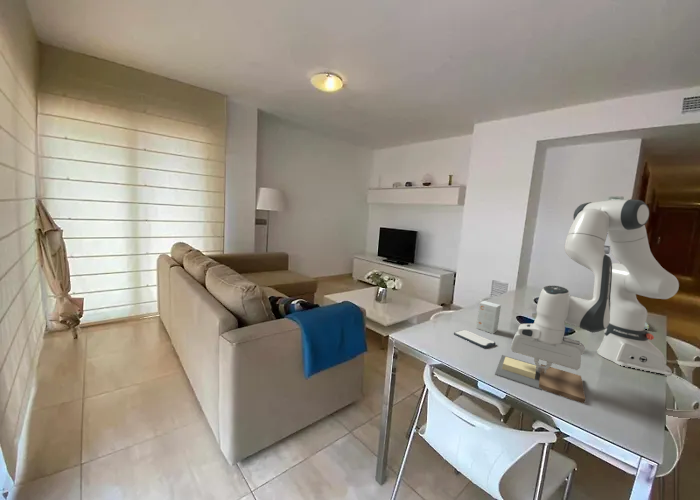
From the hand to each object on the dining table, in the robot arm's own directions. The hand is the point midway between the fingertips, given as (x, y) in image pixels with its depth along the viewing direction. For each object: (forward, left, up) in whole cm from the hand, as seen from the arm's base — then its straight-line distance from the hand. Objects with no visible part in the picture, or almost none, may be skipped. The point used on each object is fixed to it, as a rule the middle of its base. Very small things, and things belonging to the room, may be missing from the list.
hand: (540, 371), depth 106 cm
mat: (+6, 0, -2) cm, 7 cm away
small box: (+23, -35, -2) cm, 42 cm away
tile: (+7, 0, -2) cm, 7 cm away
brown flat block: (-6, 0, -2) cm, 6 cm away
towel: (-38, -112, -3) cm, 119 cm away
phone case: (+26, -18, -3) cm, 31 cm away
